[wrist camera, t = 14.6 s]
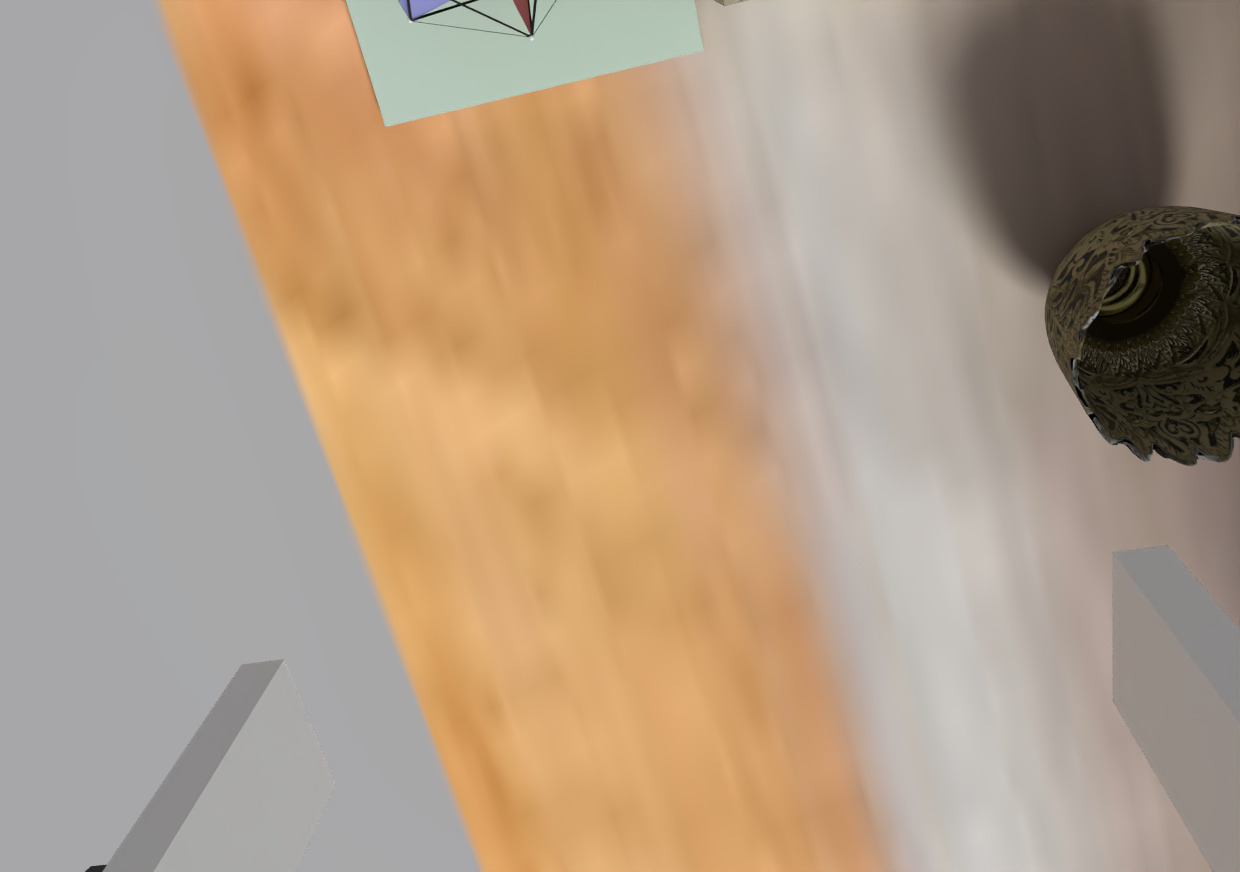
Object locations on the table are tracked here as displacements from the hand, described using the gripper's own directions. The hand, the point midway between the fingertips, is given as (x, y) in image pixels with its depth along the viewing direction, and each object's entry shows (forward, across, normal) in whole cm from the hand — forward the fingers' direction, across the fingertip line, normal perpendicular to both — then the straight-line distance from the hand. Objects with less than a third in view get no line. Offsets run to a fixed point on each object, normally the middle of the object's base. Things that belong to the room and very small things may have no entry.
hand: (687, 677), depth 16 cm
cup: (+23, -14, +2) cm, 27 cm away
